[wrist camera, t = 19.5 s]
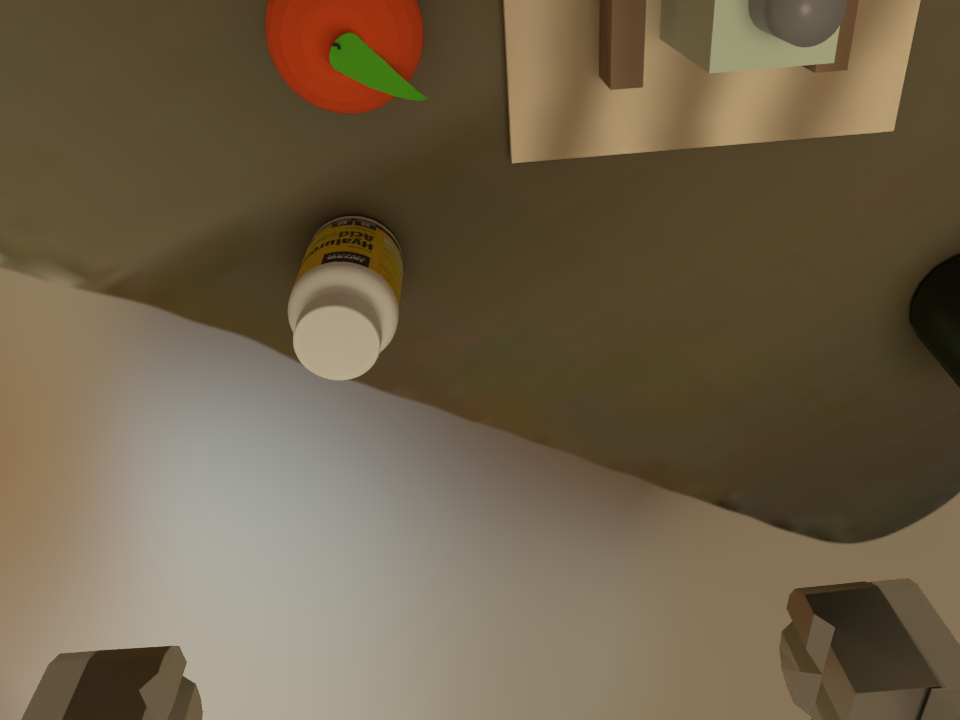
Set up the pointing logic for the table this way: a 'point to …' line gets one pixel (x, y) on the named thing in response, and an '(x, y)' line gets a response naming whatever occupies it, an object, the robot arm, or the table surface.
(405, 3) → the clementine
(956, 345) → the potion bottle
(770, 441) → the table surface
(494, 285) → the table surface
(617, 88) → the u rest
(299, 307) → the supplement bottle
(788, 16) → the sage bottle
